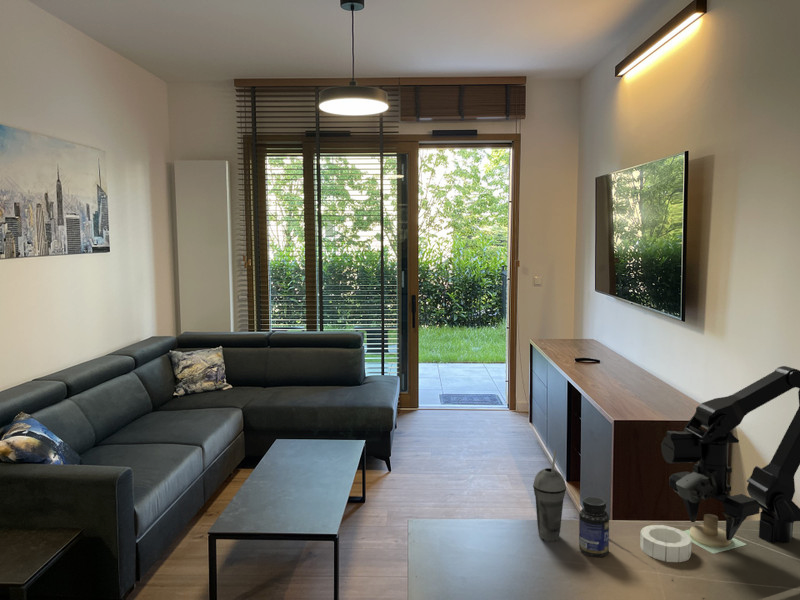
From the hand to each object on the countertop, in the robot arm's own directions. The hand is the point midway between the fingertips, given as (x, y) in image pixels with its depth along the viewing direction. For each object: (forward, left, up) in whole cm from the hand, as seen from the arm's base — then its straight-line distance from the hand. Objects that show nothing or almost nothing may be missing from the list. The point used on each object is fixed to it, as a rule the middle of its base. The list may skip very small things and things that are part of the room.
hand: (710, 530), depth 130 cm
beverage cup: (+31, -16, -3) cm, 35 cm away
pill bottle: (+26, -7, -3) cm, 27 cm away
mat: (0, 0, -3) cm, 3 cm away
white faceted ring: (+13, 0, -3) cm, 13 cm away
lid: (0, 0, -2) cm, 2 cm away
